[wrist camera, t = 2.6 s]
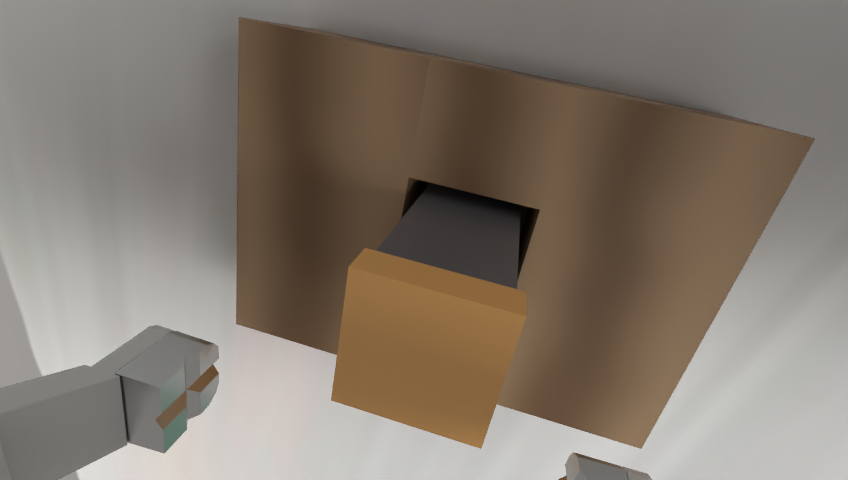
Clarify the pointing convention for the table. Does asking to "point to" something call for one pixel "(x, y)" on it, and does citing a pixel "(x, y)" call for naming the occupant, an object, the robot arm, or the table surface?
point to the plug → (434, 316)
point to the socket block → (509, 181)
